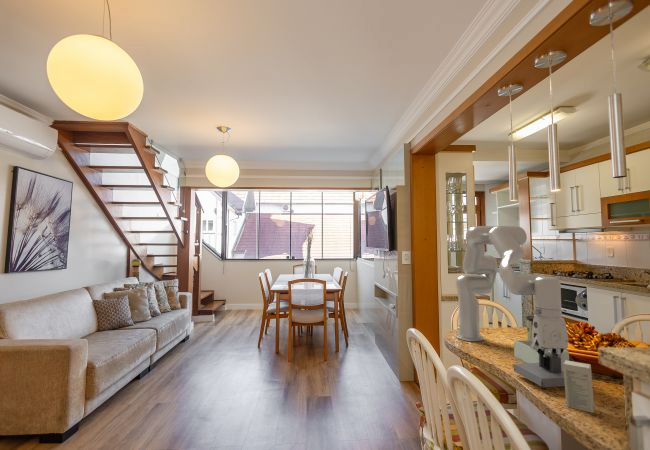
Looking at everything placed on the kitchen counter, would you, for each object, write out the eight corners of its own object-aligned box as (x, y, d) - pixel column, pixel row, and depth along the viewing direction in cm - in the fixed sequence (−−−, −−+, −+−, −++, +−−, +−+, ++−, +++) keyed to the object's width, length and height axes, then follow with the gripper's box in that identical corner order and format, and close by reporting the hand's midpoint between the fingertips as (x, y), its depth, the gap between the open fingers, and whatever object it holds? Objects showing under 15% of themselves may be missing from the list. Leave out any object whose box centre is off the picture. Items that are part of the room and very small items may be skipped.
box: (514, 357, 135) (513, 340, 135) (538, 356, 136) (538, 339, 136) (542, 371, 120) (541, 352, 120) (569, 370, 121) (568, 351, 121)
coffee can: (560, 352, 142) (559, 319, 142) (542, 354, 139) (540, 321, 140) (539, 345, 151) (538, 314, 152) (521, 347, 149) (520, 316, 150)
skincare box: (594, 408, 93) (592, 364, 94) (593, 414, 90) (591, 368, 90) (566, 400, 97) (564, 359, 98) (564, 406, 94) (563, 362, 95)
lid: (542, 386, 103) (541, 362, 103) (513, 371, 115) (513, 349, 116) (590, 384, 104) (589, 360, 105) (557, 369, 117) (556, 347, 118)
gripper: (534, 315, 107) (536, 373, 105) (579, 315, 108) (581, 371, 107) (518, 311, 114) (519, 364, 113) (560, 310, 116) (562, 363, 115)
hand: (550, 367), depth 110 cm, fingers closed on lid, 2 cm apart
